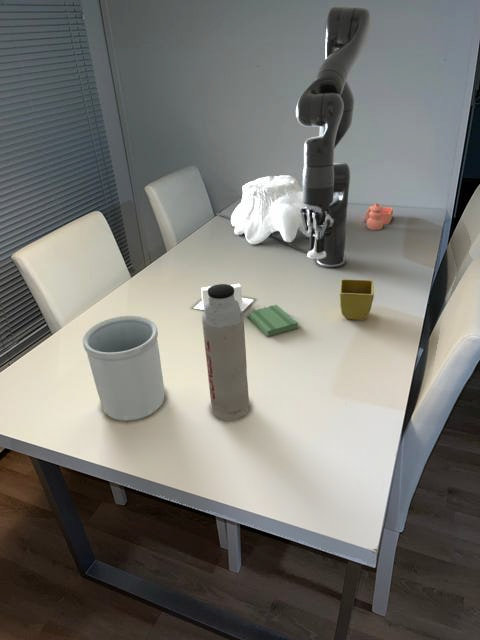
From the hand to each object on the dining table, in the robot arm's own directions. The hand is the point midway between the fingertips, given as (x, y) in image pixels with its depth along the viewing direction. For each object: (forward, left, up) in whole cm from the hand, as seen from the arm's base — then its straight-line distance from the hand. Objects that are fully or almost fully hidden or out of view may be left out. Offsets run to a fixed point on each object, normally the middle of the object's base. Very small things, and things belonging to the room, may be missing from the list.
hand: (316, 250), depth 127 cm
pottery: (-54, +63, -20) cm, 86 cm away
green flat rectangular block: (-2, -12, -19) cm, 23 cm away
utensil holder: (+14, -55, -20) cm, 60 cm away
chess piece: (0, 0, -2) cm, 2 cm away
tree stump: (-70, +24, -20) cm, 77 cm away
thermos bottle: (+26, -37, -20) cm, 49 cm away
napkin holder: (-19, -20, -20) cm, 34 cm away
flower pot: (+6, +9, -20) cm, 22 cm away
